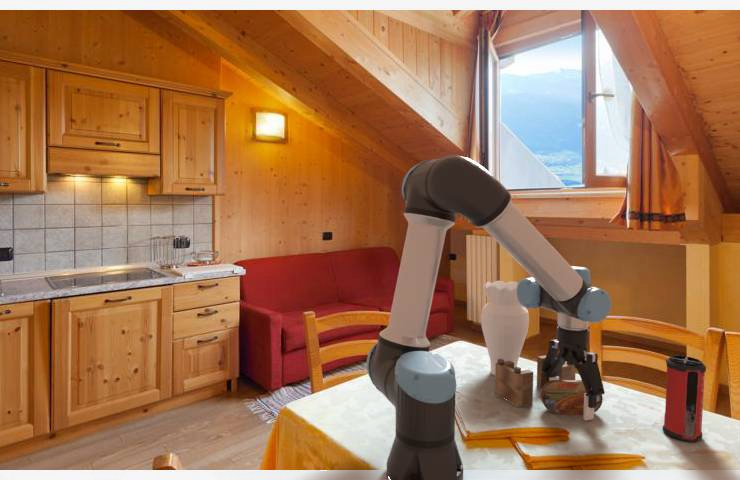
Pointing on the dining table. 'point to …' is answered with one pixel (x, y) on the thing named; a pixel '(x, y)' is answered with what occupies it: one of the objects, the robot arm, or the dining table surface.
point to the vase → (503, 322)
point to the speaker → (684, 398)
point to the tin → (566, 397)
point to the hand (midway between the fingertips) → (570, 409)
